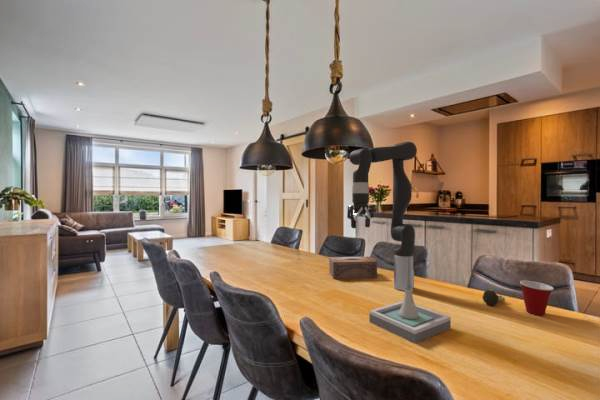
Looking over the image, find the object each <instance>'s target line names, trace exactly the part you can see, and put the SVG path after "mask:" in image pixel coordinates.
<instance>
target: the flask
mask: <svg viewBox="0 0 600 400" xmlns="http://www.w3.org/2000/svg"><path fill="white" fill-rule="evenodd" d="M413 292H414V288H413V289H412V288H404V298H403V300H402V301H403V303H402V306H401V309H400V311H399V314H398V315H399V316H401V317H402V318H406V319H418V317H419V315H418V312H417V309H416V306H415V305H416V304H415V301H414V297H413Z"/></svg>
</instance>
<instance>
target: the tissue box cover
mask: <svg viewBox="0 0 600 400" xmlns="http://www.w3.org/2000/svg"><path fill="white" fill-rule="evenodd" d="M328 259H329V267H328V268H329V269H328V270H329V274H330V276H331V277H332V279H333V280H342V279H343V280H345V279H347V280H348V279H377V278H378V261H377V260H376V259H375V258H373V257H372V256H330V257H328Z"/></svg>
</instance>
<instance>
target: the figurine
mask: <svg viewBox="0 0 600 400" xmlns="http://www.w3.org/2000/svg"><path fill="white" fill-rule="evenodd" d="M505 298H506V297H504V296H502V295H501V294H500V295H498V294H497V292H496V291H494V289H493V290H492V289H487V290H485V291H484V292H483V293H482V300H483V302H484V303H485V304H486V305H488V306H495V305H496V304H498V302H503V301H505V300H506V299H505Z"/></svg>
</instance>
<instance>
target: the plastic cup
mask: <svg viewBox="0 0 600 400" xmlns="http://www.w3.org/2000/svg"><path fill="white" fill-rule="evenodd" d="M519 283H520V287H521V290H522V296H523V301H524V306H525V311H526V313H527V312H528V313H527V314H529V313H530V314H529V315H532V314H533V315H532V316H536V315H538V317H545V315H546V311H547V307H548V303H549V300H550V296H551V293H552V291H554V287H553V286H552V285H549V284H546V283H543V282H538V281H533V280H532V281H531V280H520V281H519Z"/></svg>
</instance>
